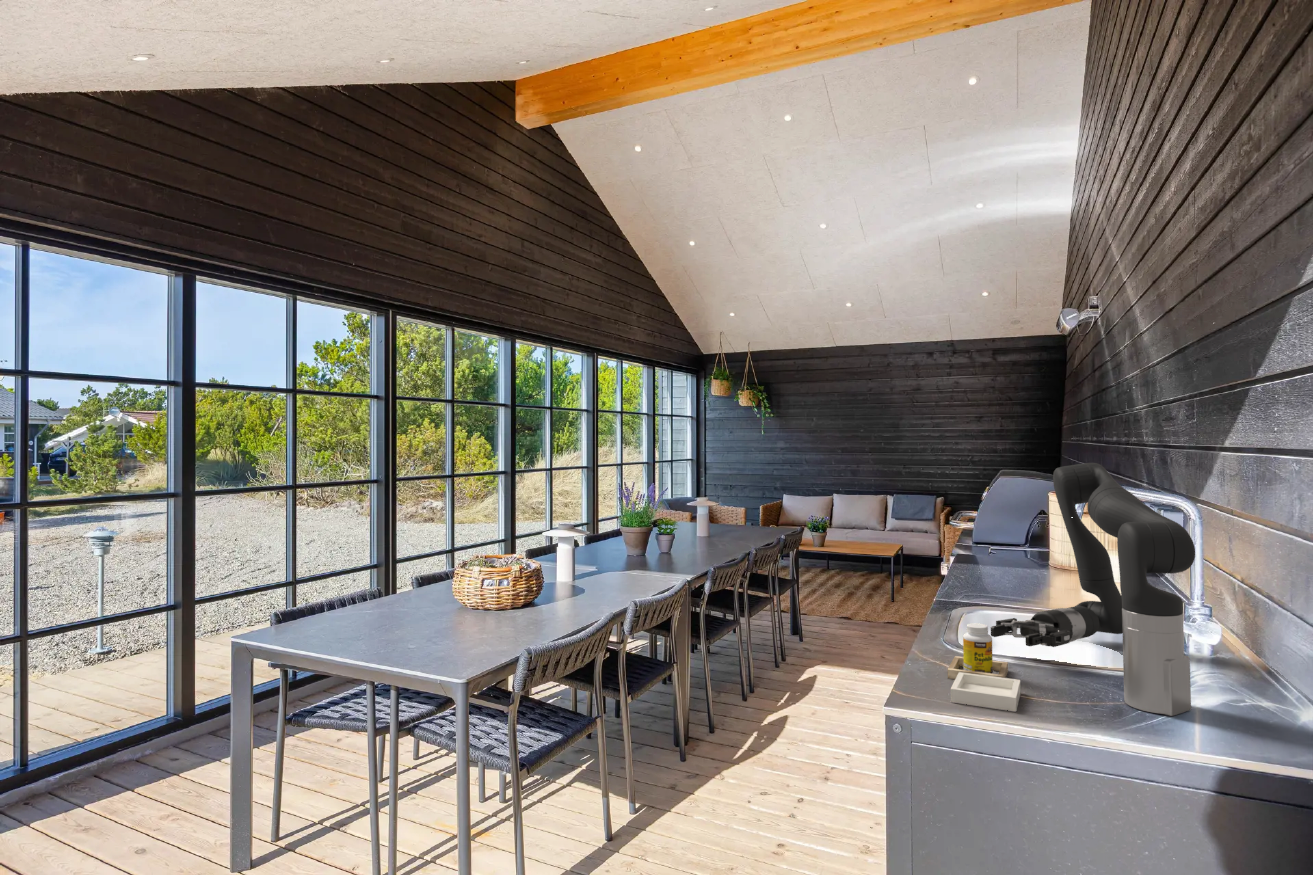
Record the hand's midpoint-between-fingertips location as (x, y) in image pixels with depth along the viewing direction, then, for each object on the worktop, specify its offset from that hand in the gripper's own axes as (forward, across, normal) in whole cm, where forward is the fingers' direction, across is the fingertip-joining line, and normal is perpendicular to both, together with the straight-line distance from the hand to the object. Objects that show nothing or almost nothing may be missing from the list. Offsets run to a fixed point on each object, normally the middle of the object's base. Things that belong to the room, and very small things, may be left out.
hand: (1009, 636), depth 158 cm
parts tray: (+20, +10, +6) cm, 23 cm away
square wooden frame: (+10, 0, +6) cm, 12 cm away
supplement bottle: (+10, 0, +7) cm, 12 cm away
